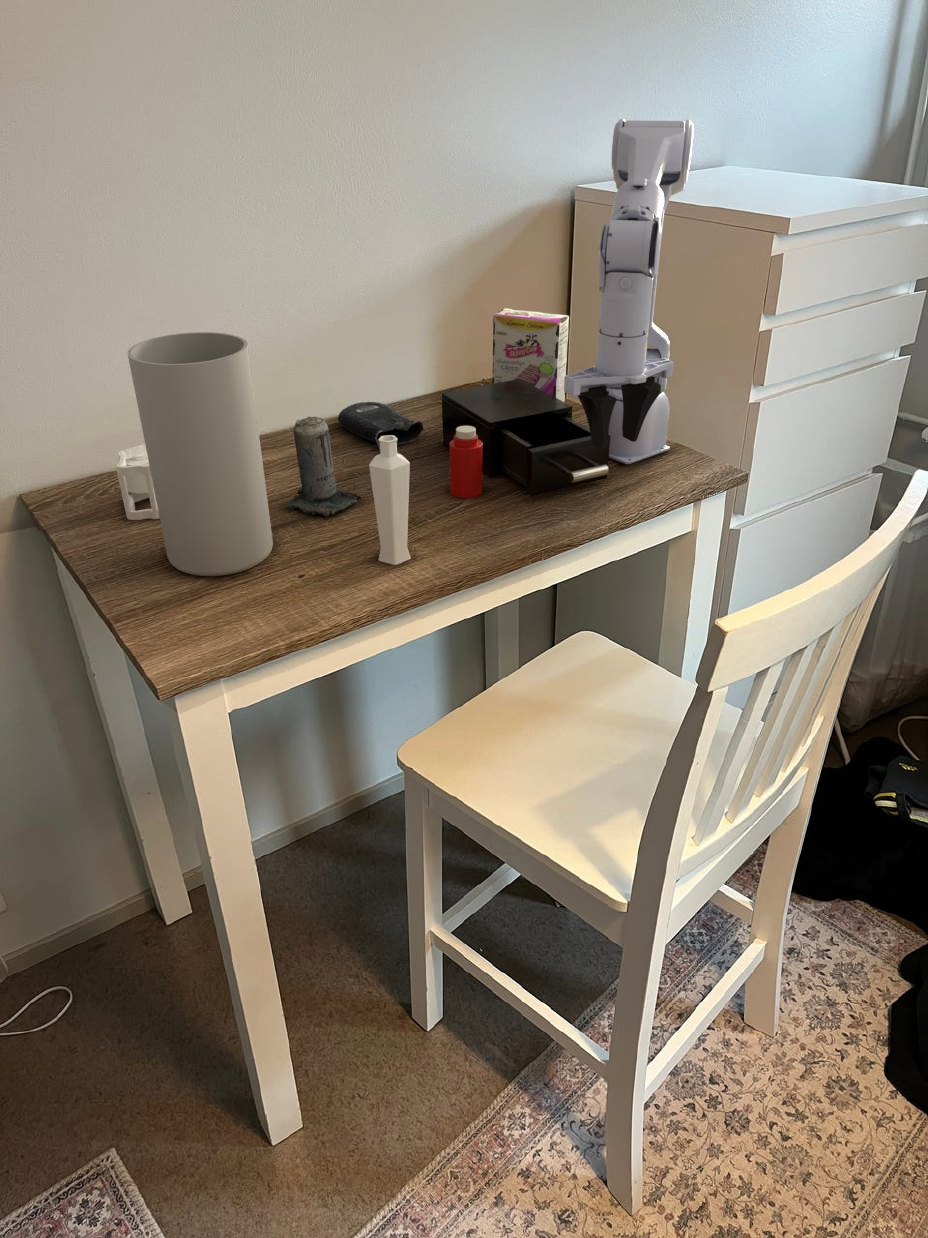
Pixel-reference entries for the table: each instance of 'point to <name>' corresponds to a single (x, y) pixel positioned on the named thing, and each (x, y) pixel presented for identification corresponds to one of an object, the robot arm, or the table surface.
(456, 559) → the table surface
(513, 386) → the cabinet
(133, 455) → the white hollow box frame
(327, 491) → the beverage can
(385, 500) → the white faceted vase
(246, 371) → the cylinder vase
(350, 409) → the black crumpled pouch
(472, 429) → the sauce bottle
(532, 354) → the candy bar box
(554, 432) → the drawer
